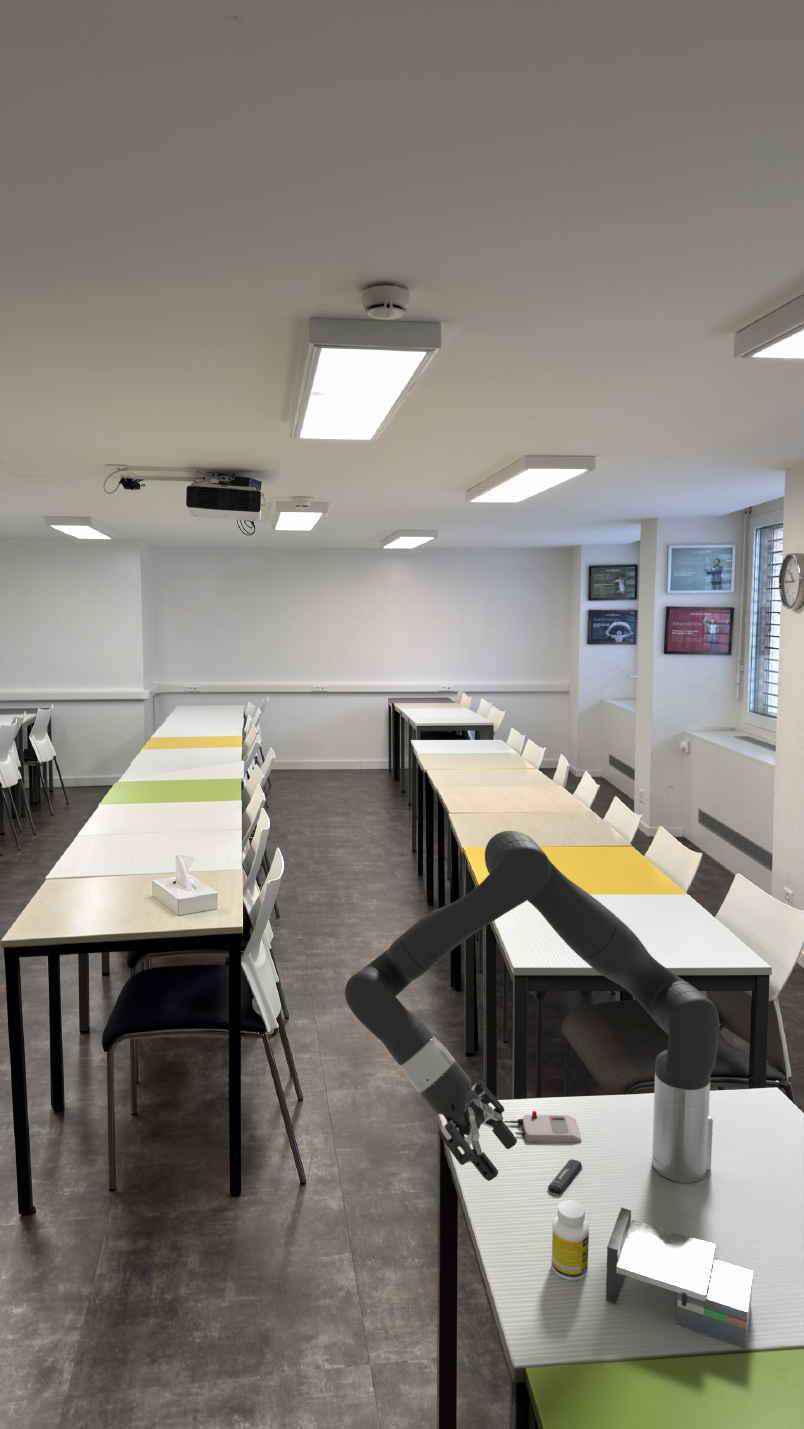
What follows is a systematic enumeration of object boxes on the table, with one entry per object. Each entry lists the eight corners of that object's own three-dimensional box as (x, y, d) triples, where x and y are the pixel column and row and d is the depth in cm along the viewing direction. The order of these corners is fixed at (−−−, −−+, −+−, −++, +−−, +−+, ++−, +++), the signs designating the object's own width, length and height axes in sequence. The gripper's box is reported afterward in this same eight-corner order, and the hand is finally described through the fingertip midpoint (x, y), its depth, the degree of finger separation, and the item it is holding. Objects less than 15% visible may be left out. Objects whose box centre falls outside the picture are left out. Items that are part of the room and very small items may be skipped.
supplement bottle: (588, 1284, 131) (589, 1223, 130) (550, 1279, 132) (551, 1218, 131) (587, 1257, 136) (589, 1199, 135) (552, 1252, 137) (553, 1194, 136)
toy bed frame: (604, 1304, 127) (606, 1249, 126) (620, 1255, 136) (622, 1204, 135) (703, 1338, 121) (706, 1281, 120) (713, 1284, 130) (715, 1231, 129)
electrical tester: (591, 1144, 165) (591, 1129, 165) (506, 1143, 165) (506, 1128, 165) (584, 1122, 172) (585, 1108, 171) (503, 1122, 172) (503, 1107, 172)
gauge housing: (676, 1326, 123) (677, 1290, 123) (685, 1285, 131) (686, 1251, 130) (745, 1349, 120) (747, 1312, 119) (750, 1306, 127) (752, 1271, 126)
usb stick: (569, 1164, 159) (569, 1156, 159) (583, 1169, 158) (583, 1161, 158) (546, 1192, 152) (546, 1184, 151) (560, 1198, 150) (560, 1190, 150)
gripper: (432, 1084, 133) (504, 1177, 129) (468, 1041, 145) (534, 1124, 142) (400, 1109, 136) (470, 1200, 132) (438, 1064, 148) (503, 1146, 145)
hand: (503, 1161), depth 137 cm, fingers open, 8 cm apart
